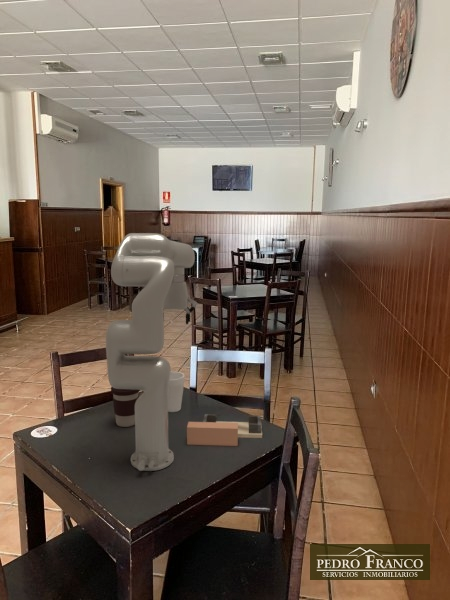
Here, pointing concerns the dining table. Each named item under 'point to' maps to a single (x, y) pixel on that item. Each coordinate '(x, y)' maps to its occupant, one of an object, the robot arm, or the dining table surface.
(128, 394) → the coffee cup
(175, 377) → the foam cup
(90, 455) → the dining table surface
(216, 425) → the orange brown rectangular block
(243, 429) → the board
